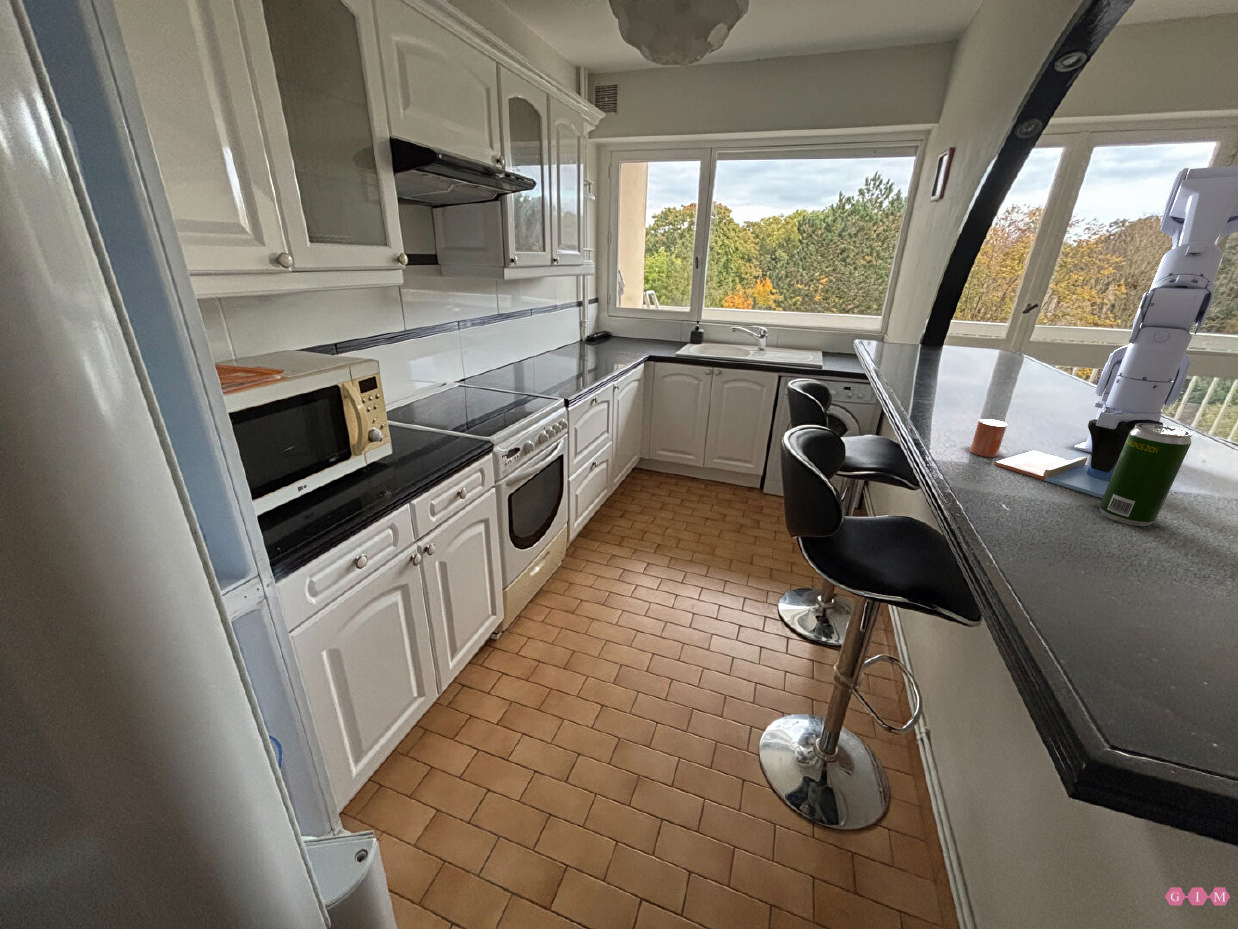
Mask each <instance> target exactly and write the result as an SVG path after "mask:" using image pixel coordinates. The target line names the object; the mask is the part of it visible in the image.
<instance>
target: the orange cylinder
mask: <svg viewBox="0 0 1238 929" xmlns="http://www.w3.org/2000/svg"><path fill="white" fill-rule="evenodd" d="M1007 426H1008V424H1007V423H1006V422H1004V421H1000V420H996V419H991V418H990V419H989V418H983V419H982V418H981V419H978V421H977V425H976V428H975V432H974V436H973V438H972V442H971V444H970V448H969V453H972V454H974V455H977V456H980V457H986V458H995V457H998V455H999V452H1000V449H1001V446H1002V443H1003V440H1004V437H1005V434H1006V430H1007Z"/></svg>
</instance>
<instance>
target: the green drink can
mask: <svg viewBox="0 0 1238 929" xmlns="http://www.w3.org/2000/svg"><path fill="white" fill-rule="evenodd" d="M1192 437H1193V432H1190V431H1189V430H1186V429H1183V428H1180V427H1176V426H1171V425H1164V424H1163V425H1159V424H1149V423H1138V424H1136V425H1135V428H1134V429H1132V430H1131V431H1130V433H1129V435H1128V438H1127V440H1126V442H1125V445H1124V447H1123V450H1122V452H1121V455H1120V457H1119V459H1118V462H1117V464H1116V467H1115V469H1114V472H1113V474H1112V476H1111V479H1110V481H1109V484H1108V486H1107V489H1106V491H1105V493H1104V496H1103V498H1101V500H1100V503H1099V512H1100V514H1101V515H1103V517H1106V518H1107V519H1109V520H1111V521H1115V522H1117V523H1121V524H1125V525H1129V526H1135V527H1147V526H1150V525H1152V524H1153V523H1154V522H1156V520H1157V518H1158V516H1159V514H1160V511H1161V510H1162V507H1163V505H1164V503H1165V501H1166V499H1167V497H1168V495H1169V492H1170V490H1171V488H1172V486H1173V484H1174V482H1175V480H1176V477H1177V475H1178V474H1179V471H1180V469H1181V467H1182V465H1183V462H1184V460H1185V458H1186V457H1187V456H1186V455H1187V453H1188V451H1189V450H1190V447H1191V445H1192V439H1191V438H1192Z"/></svg>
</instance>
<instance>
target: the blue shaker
mask: <svg viewBox="0 0 1238 929" xmlns="http://www.w3.org/2000/svg"><path fill="white" fill-rule="evenodd" d="M1116 464H1117V463H1116ZM1088 466H1089V468H1088V470H1087V474H1088V475H1089V476H1091V477H1094V478H1097V479H1101V480H1105V481H1110V479H1111V476H1112V474H1113V472H1114V469H1115V467H1116V465H1115V466H1114V467H1113V469H1112V470H1111V471H1110V472H1108V473H1106V472H1103V471H1099V470H1096V469H1092V468H1091V462H1090V463H1089V465H1088Z"/></svg>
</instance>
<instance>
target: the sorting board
mask: <svg viewBox="0 0 1238 929" xmlns="http://www.w3.org/2000/svg"><path fill="white" fill-rule="evenodd" d="M1087 460H1088V457H1086V456H1081V457H1080V456H1079V457H1077V458H1074V459H1071V460H1070V459H1066V458H1063V457H1059V456H1054V455H1051V454H1047V453H1044V452H1041V451H1038V450H1031V451H1030V450H1029V451H1027V452H1024V453H1020V454H1015V455H1013V456H1010V457H1007V458H1006V457H1005V458H1003V459H1000V460H997V461H995V462H994V464H993V465H994V466H995V467H999V468H1003V469H1006V470H1009V471H1013V472H1015V473H1018V474H1022V475H1025V476H1028V477H1031V478H1035V479H1038V480H1041V481H1044V482H1048V483H1051V484H1054V485H1057V486H1060V487H1064V488H1066V489H1070V490H1073V491H1077V492H1079V493H1082V494H1087V495H1089V496H1092V497H1096V498H1099V499H1102V498H1103V496H1104V493H1105V491H1106V489H1107V486H1108V484H1109V481H1105V480H1101V479H1097V478H1094V477H1091V476H1089V475H1088V474H1087V470H1088V468H1089V465H1088V464H1087Z"/></svg>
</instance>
